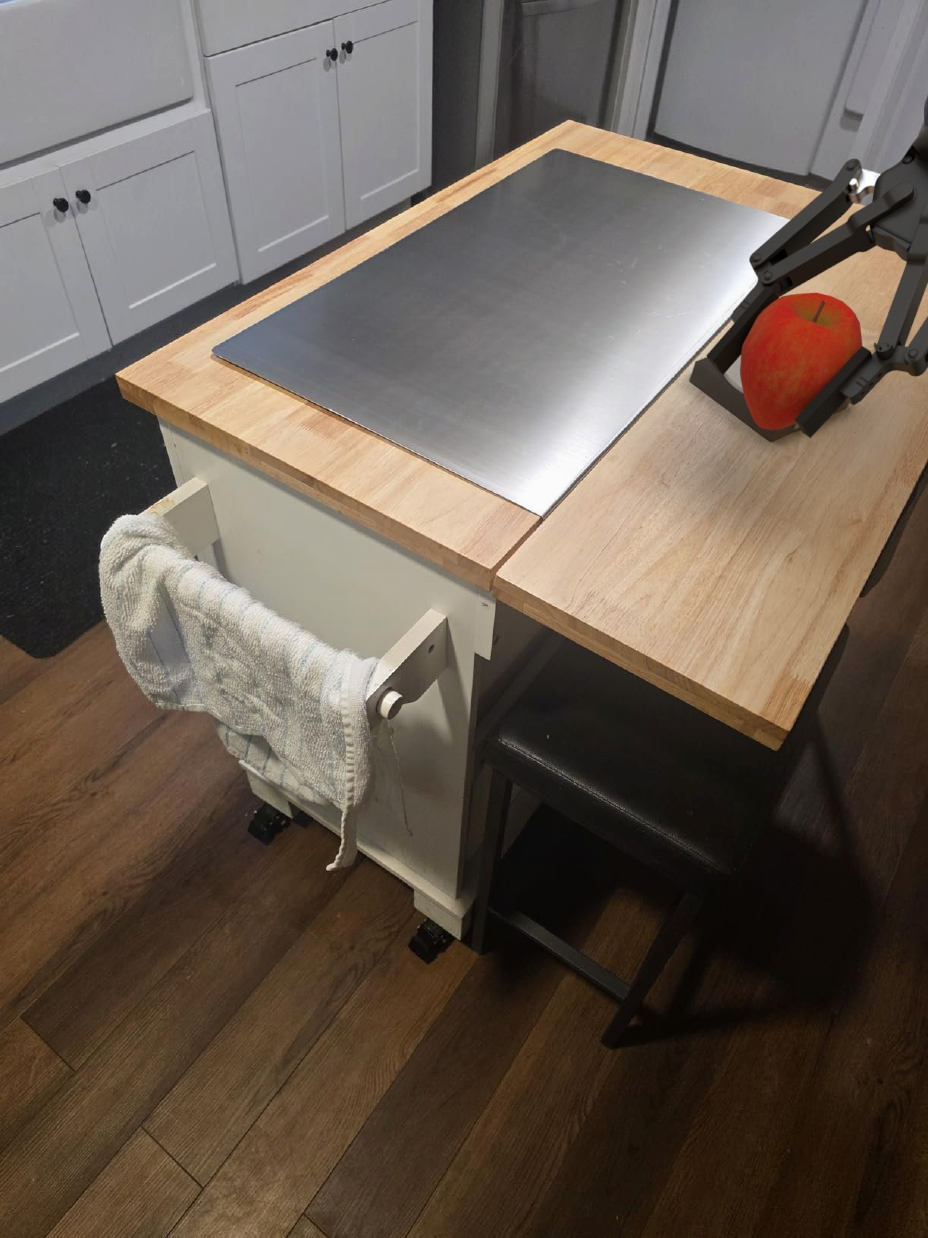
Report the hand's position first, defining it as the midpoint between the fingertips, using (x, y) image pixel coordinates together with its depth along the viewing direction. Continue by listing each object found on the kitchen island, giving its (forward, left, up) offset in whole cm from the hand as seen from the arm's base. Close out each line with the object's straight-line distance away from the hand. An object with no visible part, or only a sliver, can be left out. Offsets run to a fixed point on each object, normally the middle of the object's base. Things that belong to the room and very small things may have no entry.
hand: (757, 395), depth 66 cm
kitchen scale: (+13, -23, -16) cm, 31 cm away
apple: (0, -3, -4) cm, 5 cm away
